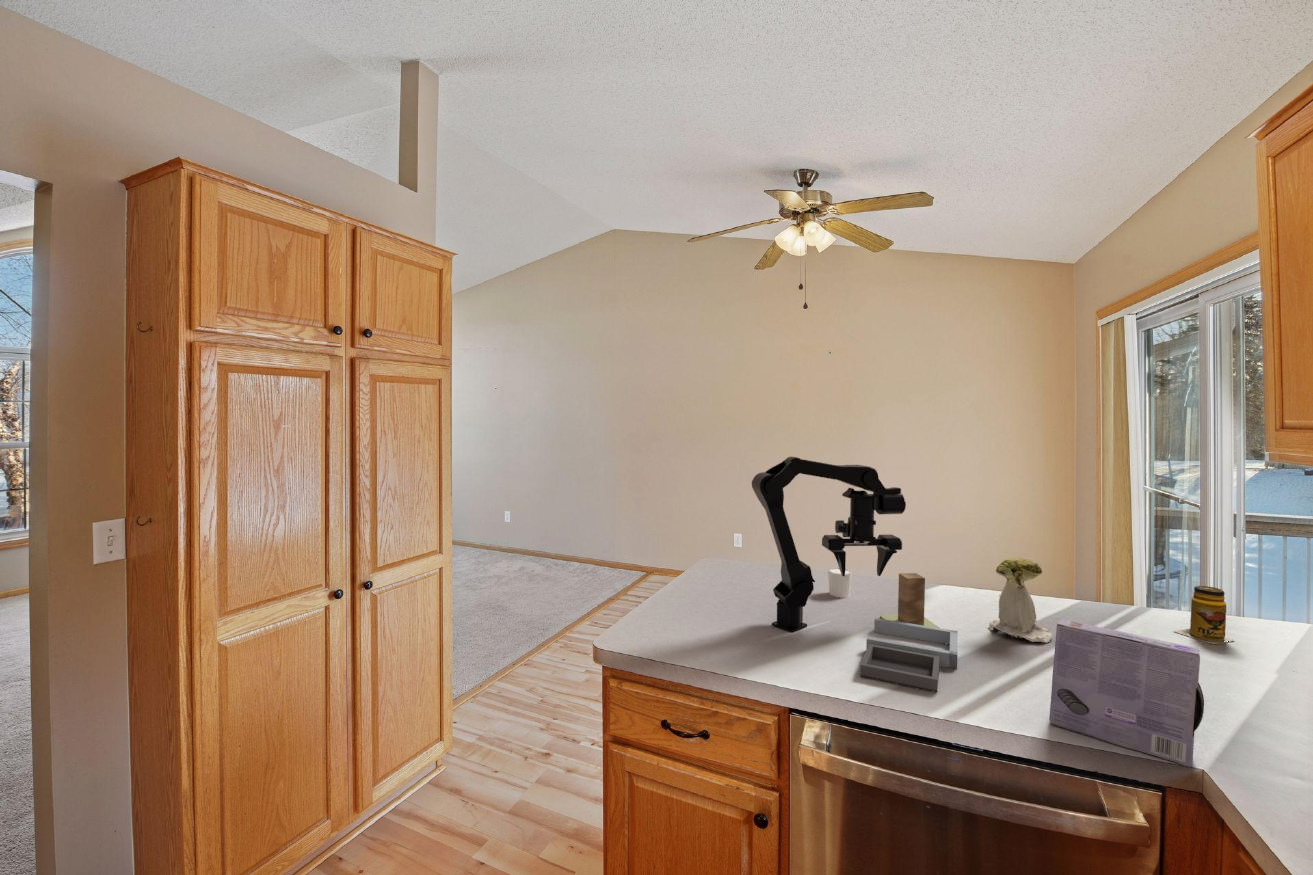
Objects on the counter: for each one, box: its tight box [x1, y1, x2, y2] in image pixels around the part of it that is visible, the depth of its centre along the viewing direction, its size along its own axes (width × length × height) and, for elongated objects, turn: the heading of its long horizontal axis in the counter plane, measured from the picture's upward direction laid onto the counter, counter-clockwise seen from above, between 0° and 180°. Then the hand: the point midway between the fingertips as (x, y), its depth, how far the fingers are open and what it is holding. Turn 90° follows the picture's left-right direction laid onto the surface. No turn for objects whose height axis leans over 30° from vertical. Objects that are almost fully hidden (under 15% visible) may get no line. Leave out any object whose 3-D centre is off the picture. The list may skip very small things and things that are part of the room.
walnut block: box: [897, 572, 926, 626], centre depth 145 cm, size 4×4×12 cm
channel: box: [865, 617, 959, 670], centre depth 131 cm, size 18×15×3 cm
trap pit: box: [859, 644, 940, 693], centre depth 119 cm, size 14×12×2 cm
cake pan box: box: [1048, 618, 1205, 768], centre depth 94 cm, size 19×5×18 cm, turn 48°
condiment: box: [1172, 585, 1236, 645], centre depth 138 cm, size 7×8×12 cm
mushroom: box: [988, 557, 1053, 644], centre depth 139 cm, size 12×13×18 cm
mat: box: [879, 614, 940, 628], centre depth 146 cm, size 11×11×1 cm
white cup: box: [827, 567, 853, 599], centre depth 170 cm, size 7×7×7 cm
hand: (860, 575), depth 147 cm, fingers open, 9 cm apart
